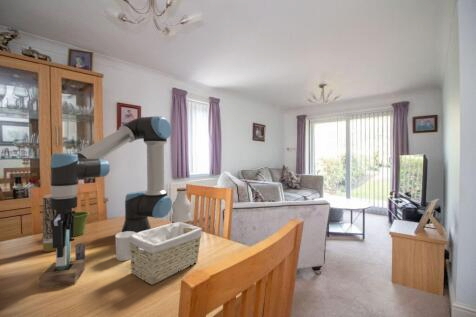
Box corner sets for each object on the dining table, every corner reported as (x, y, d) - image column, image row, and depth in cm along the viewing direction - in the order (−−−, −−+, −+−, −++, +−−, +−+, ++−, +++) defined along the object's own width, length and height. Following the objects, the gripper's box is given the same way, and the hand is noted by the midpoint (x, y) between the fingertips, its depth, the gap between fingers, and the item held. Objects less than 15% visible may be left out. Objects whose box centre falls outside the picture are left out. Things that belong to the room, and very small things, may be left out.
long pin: (70, 267, 80) (70, 228, 80) (66, 271, 77) (67, 231, 77) (60, 268, 80) (60, 229, 79) (55, 272, 76) (56, 232, 76)
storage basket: (177, 252, 102) (178, 220, 102) (203, 262, 93) (203, 227, 92) (126, 274, 83) (126, 234, 82) (151, 290, 73) (152, 245, 73)
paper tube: (51, 253, 98) (51, 197, 98) (38, 251, 100) (39, 196, 99) (65, 247, 105) (66, 194, 105) (54, 245, 106) (54, 193, 106)
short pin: (85, 259, 93) (86, 242, 93) (83, 262, 90) (83, 245, 90) (77, 260, 92) (77, 243, 92) (74, 263, 89) (74, 246, 89)
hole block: (84, 269, 85) (84, 259, 85) (74, 284, 75) (75, 272, 75) (53, 273, 82) (53, 262, 82) (38, 289, 72) (38, 277, 72)
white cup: (114, 263, 90) (115, 238, 90) (115, 255, 97) (115, 232, 97) (135, 259, 94) (136, 235, 94) (135, 252, 101) (135, 230, 101)
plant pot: (93, 233, 123) (93, 213, 123) (67, 240, 113) (67, 218, 113) (83, 229, 129) (83, 210, 129) (58, 235, 119) (58, 214, 119)
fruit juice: (185, 248, 105) (186, 190, 105) (167, 246, 107) (168, 189, 107) (193, 241, 115) (194, 187, 114) (176, 239, 117) (177, 186, 116)
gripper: (61, 193, 85) (61, 254, 85) (38, 202, 69) (38, 276, 70) (84, 192, 87) (83, 252, 87) (67, 200, 72) (66, 272, 72)
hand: (63, 262), depth 78 cm, fingers closed on long pin, 3 cm apart
